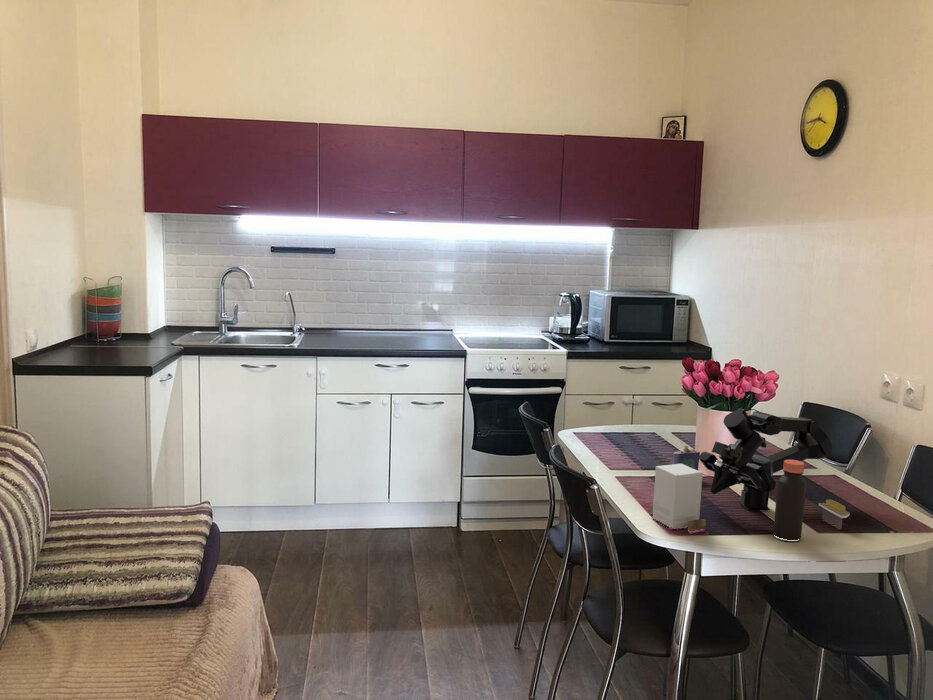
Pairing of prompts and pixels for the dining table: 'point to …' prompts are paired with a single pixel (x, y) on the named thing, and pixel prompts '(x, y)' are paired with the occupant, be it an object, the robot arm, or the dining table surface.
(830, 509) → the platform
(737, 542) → the dining table surface
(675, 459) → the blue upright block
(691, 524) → the walnut slot
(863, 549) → the dining table surface
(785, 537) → the bottle
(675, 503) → the supplement box
